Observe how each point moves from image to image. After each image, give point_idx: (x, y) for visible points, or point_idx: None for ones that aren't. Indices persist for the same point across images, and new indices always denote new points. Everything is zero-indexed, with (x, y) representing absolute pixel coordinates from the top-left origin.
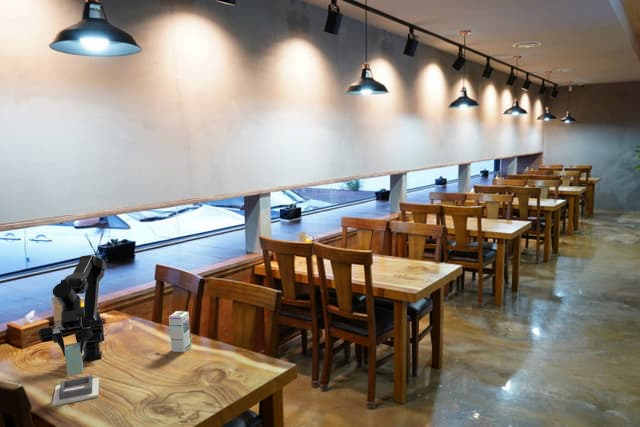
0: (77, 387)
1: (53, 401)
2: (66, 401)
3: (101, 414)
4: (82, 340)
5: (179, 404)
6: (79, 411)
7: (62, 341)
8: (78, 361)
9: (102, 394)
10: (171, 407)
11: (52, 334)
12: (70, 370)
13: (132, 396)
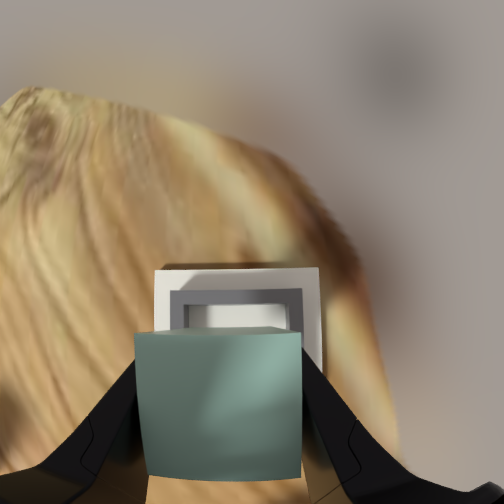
0: None
1: (317, 286)
2: (269, 269)
3: (158, 147)
4: (99, 432)
5: (13, 144)
6: (220, 189)
7: (343, 461)
8: (193, 329)
9: (144, 285)
10: (27, 136)
11: (500, 487)
12: (253, 327)
13: (67, 223)
